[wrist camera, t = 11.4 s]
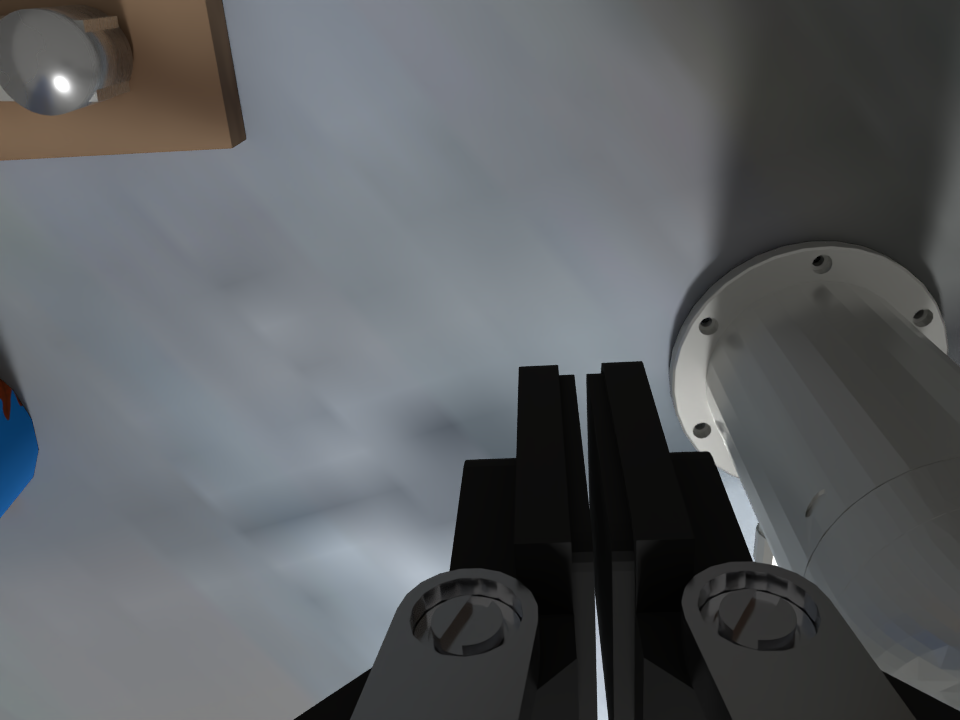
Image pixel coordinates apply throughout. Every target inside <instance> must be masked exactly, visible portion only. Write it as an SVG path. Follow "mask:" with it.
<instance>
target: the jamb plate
mask: <svg viewBox="0 0 960 720" xmlns="http://www.w3.org/2000/svg"><path fill="white" fill-rule="evenodd" d="M67 5H86V6H90V7H93V8H96V9H98V10H100V11H102V12H104V13H105V14H107V15H108V16H117V19H118V25H119V27H120V28H121V29H122V31H123V32H124V34H125V36H126V38H127V40H128V42H129V45H130V47H131V52H132V58H133V68H132V74H131V77H130V80H129V82H128V83H129V89H130V92H127V93H124V94H121V95H118V96H115V97H113V98H111V99H108V100H105V101H102V102H99V103H96V104H93V105H90V106H87V107H83V108H80V109H77V110H74V111H71V112H68V113H65V114H61V115H53V116H50V115H42V114H38V113H35V112H32V111H30V110H28V109H26V108H24V107H22V106H21V105H19V104H18V103H17V102H15V101H0V161H1V160H20V159H39V158H58V157H77V156H95V155H114V154H133V153H152V152H171V151H189V150H208V149H227V148H233V147H235V146H236V145H238V144H240V143H241V142H243V141H244V140H246V135H245V129H244V123H243V118H242V112H241V106H240V101H239V95H238V89H237V83H236V78H235V72H234V66H233V61H232V55H231V49H230V44H229V38H228V32H227V27H226V21H225V15H224V10H223V4H222V0H0V16H6V15H8V14H10V13H12V12H14V11H17V10H21V9H32V8H44V7H55V6H67Z"/></svg>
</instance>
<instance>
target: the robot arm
mask: <svg viewBox="0 0 960 720" xmlns="http://www.w3.org/2000/svg"><path fill="white" fill-rule="evenodd" d="M818 256H821V258H820V260H819V261H818V262H816V263H813V260H814V259H815V258H817V257H818ZM918 311H919V312H918ZM917 312H918V313H917ZM915 313H917V314H915ZM708 317H710V319H709V321H708V322H707V323H701V321H702V320H703V319H705V318H708ZM669 379H670V394H671V398H672V401H673V405H674V408H675V412H676V415H677V417H678V419H679V422H680V424H681V426H682V429H683V431H684V433H685V435H686V436H687V437H688V439H689V440H690V441H691V443H692V444H693V446H694V447H695V448H696V450H697V451H698V452H672V453H669V450H668V446H667V443H666V439H665V436H664V433H663V429H662V426H661V422H660V419H659V416H658V412H657V409H656V406H655V402H654V399H653V395H652V392H651V389H650V385H649V382H648V379H647V375H646V372H645V368H644V365H643V362H642V361H637V362H614V363H602V365H601V374H587V378H586V384H587V426H588V467H589V501H588V492H587V483H586V474H585V465H584V456H583V448H582V439H581V430H580V421H579V412H578V403H577V394H576V386H575V377H574V375H559V371H558V365H548V366H525V367H519V382H518V418H517V454H516V458H505V459H478V460H466V461H465V463H464V468H463V476H462V483H461V491H460V498H459V505H458V513H457V520H456V528H455V535H454V542H453V550H452V557H451V564H450V571H449V572H445V573H440V574H438V575H436V576H434V577H432V578H429V579H427V580H425V581H423V582H421V583H420V584H419V585H417V586H416V587H415V588H414V589H413V590H411V591H410V592H409V593H408V594H407V595H406V596H405V598H404V599H403V601H402V602H401V604H400V605H399V607H398V608H397V610H396V613H395V615H394V617H393V620H392V622H391V624H390V627H389V629H388V631H387V634H386V636H385V639H384V641H383V643H382V646H381V648H380V650H379V653H378V655H377V657H376V660H375V662H374V664H373V667H372V668H371V669H369V670H368V671H366V672H365V673H363V674H362V675H360V676H359V677H357V678H356V679H354V680H353V681H351V682H350V683H348V684H347V685H345V686H344V687H342V688H341V689H339V690H337V691H336V692H334V693H333V694H331V695H330V696H328V697H327V698H325V699H324V700H322V701H321V702H319V703H318V704H316V705H315V706H313V707H312V708H310V709H309V710H307V711H306V712H304V713H303V714H301V715H300V716H298V717H297V718H295V719H294V720H597V678H596V634H595V597H596V606H597V616H598V625H599V635H600V644H601V653H602V663H603V672H604V681H605V691H606V700H607V709H608V719H609V720H960V367H959V366H958V365H957V364H956V363H955V362H954V361H953V360H952V359H950V358H949V357H948V341H947V333H946V326H945V323H944V320H943V317H942V315H941V312H940V310H939V307H938V305H937V303H936V301H935V300H934V298H933V297H932V295H931V294H930V293H929V291H928V290H927V288H926V287H925V286H924V284H923V283H922V282H921V281H919V280H918V279H917V278H916V277H915V276H914V275H913V274H911V273H910V272H909V271H908V270H907V269H906V268H904V267H903V266H901V265H900V264H898V263H897V262H895V261H894V260H893V259H891V258H890V257H888V256H886V255H884V254H881V253H879V252H877V251H874V250H872V249H869V248H867V247H864V246H860V245H854V244H849V243H844V242H839V241H810V242H804V243H799V244H793V245H787V246H782V247H780V248H777V249H774V250H771V251H768V252H766V253H763V254H760V255H757V256H755V257H753V258H752V259H750V260H748V261H746V262H745V263H743V264H741V265H739V266H737V267H736V268H734V269H732V270H731V271H730V272H728V273H727V274H726V275H725V276H723V277H722V278H721V279H720V280H718V281H717V282H716V283H715V284H713V285H712V286H711V287H710V288H709V289H708V290H707V292H706V293H705V294H704V295H703V296H702V297H701V298H700V300H699V301H698V302H697V303H696V304H695V305H694V306H693V308H692V310H691V311H690V313H689V315H688V316H687V318H686V320H685V321H684V323H683V325H682V326H681V328H680V331H679V334H678V336H677V339H676V342H675V345H674V347H673V350H672V357H671V363H670V370H669ZM699 423H702V424H701V425H697V424H699ZM717 467H718V468H720V469H721V470H723V471H725V472H726V473H728V474H730V475H731V476H734V477H737V478H740V481H741V483H742V485H743V488H744V490H745V492H746V494H747V497H748V499H749V501H750V504H751V506H752V508H753V510H754V513H755V515H756V517H757V520H758V522H759V523H758V525H757V527H756V533H755V543H754V553H753V557H754V559H755V562H753V560H752V558H751V555H750V553H749V550H748V547H747V545H746V542H745V540H744V537H743V534H742V532H741V529H740V527H739V524H738V521H737V519H736V516H735V514H734V511H733V508H732V506H731V503H730V501H729V498H728V495H727V493H726V490H725V488H724V485H723V482H722V480H721V477H720V475H719V472H718V469H717ZM589 507H590V509H589ZM594 588H595V589H594Z"/></svg>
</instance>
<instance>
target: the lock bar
mask: <svg viewBox="0 0 960 720" xmlns="http://www.w3.org/2000/svg"><path fill="white" fill-rule="evenodd" d="M132 68H133V58H132V52H131V47H130V45H129V42H128V40H127V38H126V36H125V34H124V32H123V31H122V29H121V28H120V27H119V25H118V19H117V16H108V15H107V14H105V13H104V12H102V11H100V10H98V9H96V8H93V7H90V6H86V5H67V6H55V7H44V8H32V9H21V10H17V11H14V12H12V13H10V14H8V15H6V16H0V101H15V102H17V103H18V104H19V105H21V106H22V107H24V108H26V109H28V110H30V111H32V112H35V113H38V114H42V115H50V116H53V115H61V114H65V113H68V112H71V111H74V110H77V109H80V108H83V107H87V106H90V105H93V104H96V103H99V102H102V101H105V100H108V99H111V98H113V97H115V96H118V95H121V94H124V93H127V92H130V89H129V83H128V82H129V80H130V77H131V74H132Z"/></svg>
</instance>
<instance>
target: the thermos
mask: <svg viewBox="0 0 960 720" xmlns="http://www.w3.org/2000/svg"><path fill="white" fill-rule="evenodd" d="M38 450H39V449H38V445H37V441H36V436H35V432H34V428H33V423H32V419H31V418H30V416H29V415H28V413H27V411H26V410H25V408H24V407H23V405H22V403H21V402H20V400H19V399H18V397H17V395H16V394H15V392H14V391H13V389H11V388H10V387H9V386H8V385H7V384H6V383H5V382H4V381H2V380H1V379H0V518H1V516H2V515H3V514H4V513H5V511H6V510H7V509H8V508H9V507H10V505H11V504H12V503H13V502H14V500H15V499H16V498H17V497H18V495H19V494H20V493H21V492H22V490H23V489H24V488H25V486H26V485H27V484H28V483H29V481H30V480H31V479H32V478H33V476H34V471H35V466H36V460H37V455H38Z"/></svg>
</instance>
